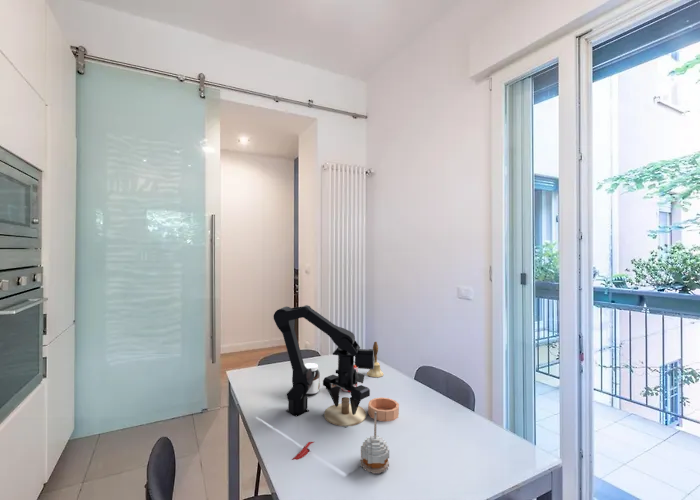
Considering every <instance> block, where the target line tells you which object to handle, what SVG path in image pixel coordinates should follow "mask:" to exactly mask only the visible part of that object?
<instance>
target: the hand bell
mask: <svg viewBox="0 0 700 500" xmlns="http://www.w3.org/2000/svg"><path fill="white" fill-rule="evenodd" d="M372 349H373V350H374V357H375V361H374V370H373V369H368V371H367V373H366V376H367V377H370V378H382V377H383V376H384V372H383V371H382V370H381V365H380V363H379V362H378V352H379V345H378V341H374V342H373V345H372Z"/></svg>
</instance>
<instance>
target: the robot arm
mask: <svg viewBox="0 0 700 500" xmlns="http://www.w3.org/2000/svg"><path fill="white" fill-rule="evenodd" d="M272 316H273V321H274V323H275V325H276V327H277V329H278V330H279V331H280V332H281V334H282V336H283V339H284V344H285V347H286V351H287V355H288V358H289V361H290V362H289V363H290V366H291V369H292V376H291V382H292V384H291V385H292V386H291V388H290V390H289V391H288V392H287V393H286V397H287V401H288V402H287V405H288V406H287V409H285V412H286V413H288V414H290V415H291V416H293V417H300V416H301V415H304V414H307V413H309V412H310V410H309V409H308V396H307V394H306V393H307V392H308V390H309V389H310V387H311V386H312V384H313V379H314V377H313V375H312V371H311V368H310V369H307V368H306V367H305V365H304V364H305V363H304V360H303V356H302V352H301V348H300V345H299V341H298V338H297V334H296V331H295V330H296V329H295V327H296V326H295V325H296V324H295V323H296V322H295V320H298V319H301V318H304V319H305V320H306V321H308V322H309V323H311V324H312V325H314V326H315V328H317V329H319V330H321V332H323V333H325V334H326V335H327V336H328V337H329V338H330V339H331V340H332V343H334V344H335V345H336V346H337V348H336V349H335V350H334V351H333V352H332V355H333V356H337V360H338V361H337V362H338V363H337V369H336V370H335V374H331V375H328V376H326V377H324V379H323V380H322V386H324V387H325V389H326V390H327V392H328V394H329V396H330V398H331V400H332V402H333V405H335V406H336V407H337V406H338V404H340V403H339V402H340V390H341V388H343V389H346V390H348V391H351V392H350V396H351V397H349V404H351V409H352V414H353V415H354V414H356V411H357V408H358V406H360V403H361V401H363V399H366V398H368V397H370V395H371V389H370V388H369V387H367V386H365V385H362V384H363V383H364V380H365V376H366V374H364V373H360V372H359V371H357V372H356V369H354V361H355V365H356V367H357V369H359V370H361V369H362V370H370V369H373V370H374V361H375V357H374V350H373V348H371V349H365V348H364V349H362V348H361V346H360V345H359V344H358V342H357V341H356V337H355V334H354V332H352V331H351V330H348V329H346V328H344V327H342V326H341V327H340V326H338V325H336V324H334V323H333V322H331V321H330V320H328V318H326V317H324V316H323V315H322V314H320V313H319V312H317V311H316V310H314V309H313V308H312V307H311V306H310V305H308V304H305V305H303V306H296V307H290V306H283V307H281V308H279V309H276V311H274V314H273V315H272ZM358 383H361V384H360V385H358ZM354 384H355V385H356V384H357V387H354V386H353V385H354Z"/></svg>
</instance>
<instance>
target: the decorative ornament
mask: <svg viewBox="0 0 700 500" xmlns="http://www.w3.org/2000/svg"><path fill="white" fill-rule="evenodd" d="M373 420H374V423H373V430H374V431H373V435H370V436H369V437H366V439H364V441H363V442H362V445H360V458H361V459H360V466H361V467H362V469H363V470H365V471H366V472H368V473H371V474H381V473H384V472H385V471H387V470H388V469H389V467H390V462H389V459H390V447H389V445H388V443H387V441H385V439H384V438H383V437H379V435H377V422H378V420H377V412H374V419H373Z"/></svg>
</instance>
